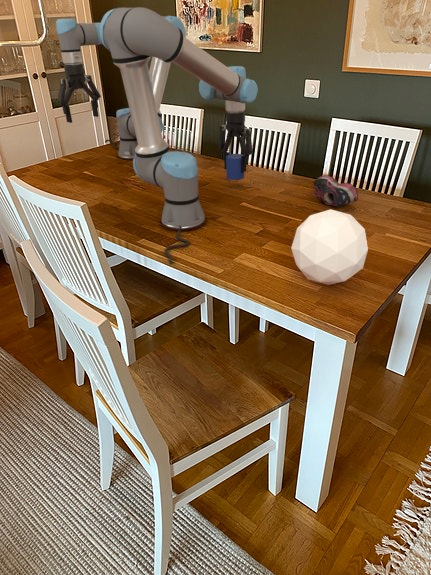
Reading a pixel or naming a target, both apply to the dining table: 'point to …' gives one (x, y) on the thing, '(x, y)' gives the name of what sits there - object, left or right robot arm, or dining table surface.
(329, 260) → the sphere
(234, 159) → the canister
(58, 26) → the left robot arm
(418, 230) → the dining table surface
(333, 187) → the athletic shoe
